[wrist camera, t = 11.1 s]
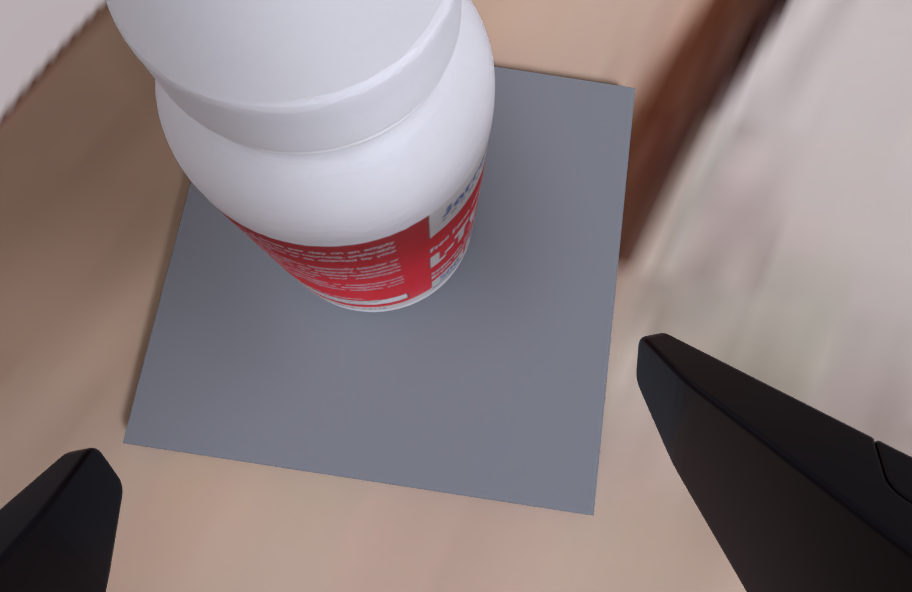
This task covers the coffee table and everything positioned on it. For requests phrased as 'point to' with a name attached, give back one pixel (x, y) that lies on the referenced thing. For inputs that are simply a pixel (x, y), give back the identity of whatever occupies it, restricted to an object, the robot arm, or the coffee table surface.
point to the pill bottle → (329, 130)
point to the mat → (418, 330)
